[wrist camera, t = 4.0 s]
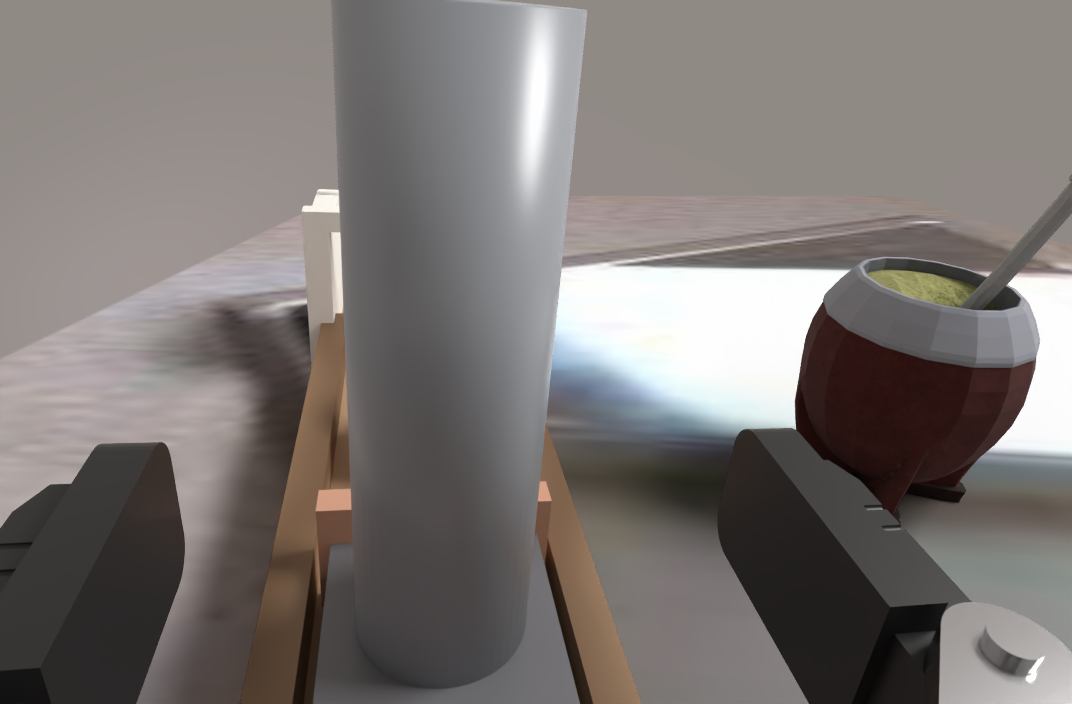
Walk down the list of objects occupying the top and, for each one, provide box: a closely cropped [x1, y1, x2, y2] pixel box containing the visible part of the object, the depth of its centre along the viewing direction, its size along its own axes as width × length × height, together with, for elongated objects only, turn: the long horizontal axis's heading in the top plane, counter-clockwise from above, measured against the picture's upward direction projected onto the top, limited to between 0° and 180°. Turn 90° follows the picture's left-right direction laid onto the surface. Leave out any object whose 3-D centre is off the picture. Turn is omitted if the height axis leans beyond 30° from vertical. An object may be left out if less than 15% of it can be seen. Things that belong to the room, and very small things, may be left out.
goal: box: [302, 189, 343, 368], centre depth 33 cm, size 9×6×7 cm
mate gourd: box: [795, 175, 1072, 524], centre depth 24 cm, size 8×8×15 cm
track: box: [240, 309, 641, 704], centre depth 26 cm, size 8×26×2 cm, turn 10°
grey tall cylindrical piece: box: [313, 0, 587, 704], centre depth 14 cm, size 6×6×14 cm
